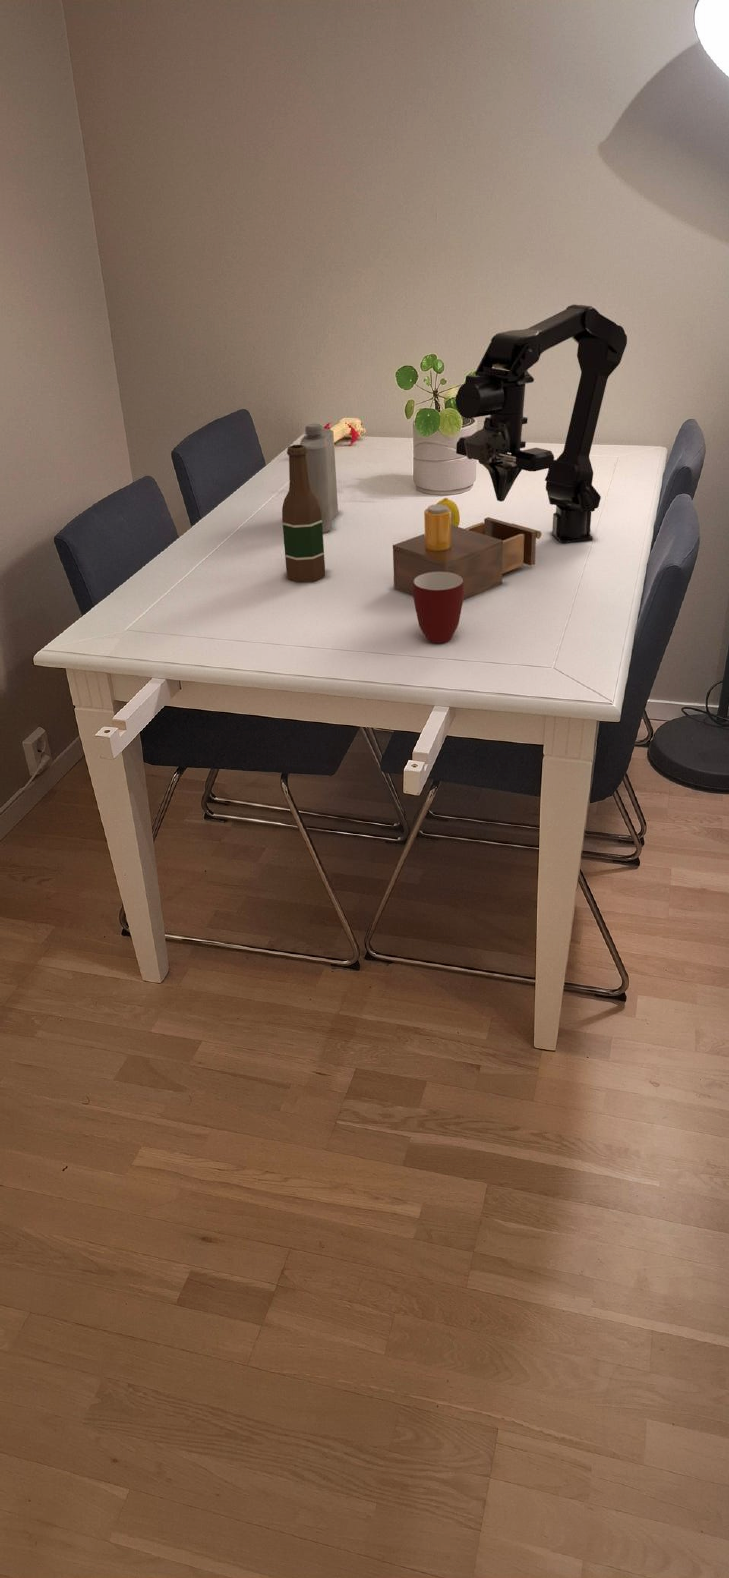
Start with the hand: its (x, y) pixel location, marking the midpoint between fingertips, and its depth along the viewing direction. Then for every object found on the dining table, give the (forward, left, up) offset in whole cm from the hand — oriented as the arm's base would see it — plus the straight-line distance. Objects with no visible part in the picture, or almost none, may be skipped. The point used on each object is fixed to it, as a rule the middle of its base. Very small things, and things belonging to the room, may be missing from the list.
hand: (500, 500), depth 199 cm
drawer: (+1, +1, -12) cm, 12 cm away
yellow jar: (+14, +9, -4) cm, 17 cm away
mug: (+18, +28, -13) cm, 35 cm away
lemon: (+6, -18, -13) cm, 23 cm away
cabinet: (+12, +7, -12) cm, 18 cm away
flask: (+29, -35, -13) cm, 47 cm away
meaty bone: (+17, -93, -13) cm, 96 cm away
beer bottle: (+36, -5, -13) cm, 38 cm away
